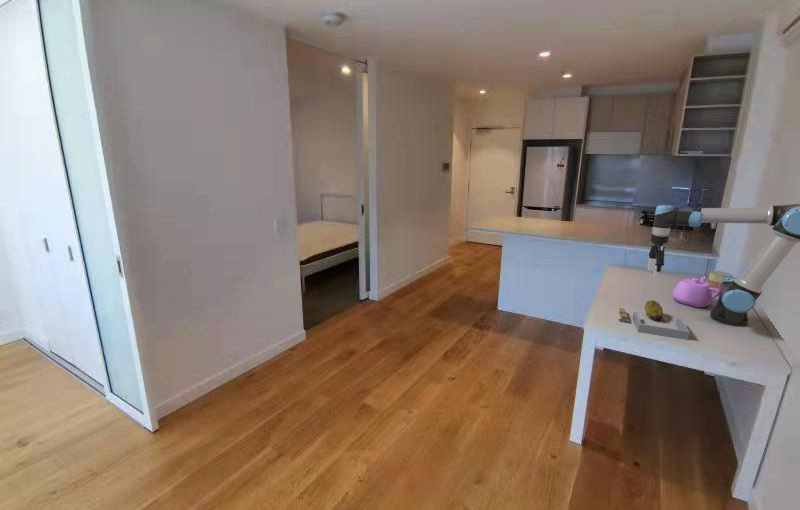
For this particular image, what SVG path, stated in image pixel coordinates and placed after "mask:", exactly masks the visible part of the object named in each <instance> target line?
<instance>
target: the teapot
mask: <svg viewBox="0 0 800 510" xmlns="http://www.w3.org/2000/svg"><path fill="white" fill-rule="evenodd" d="M706 279H707V277H706V276H705V275H704V276H703V275H702V277H700V279H699V278H696V277H693V278H684V279H682V280H680V281H679V282H678V283H677V285H676V286H675V288H674V290H673V291H672V298H673V300H674V301H675V302H678V303H679V304H684V305H687V306H692V307H694V308H704V307H707V306H709V305H710V304H711V303H712V301H713V300H714V299H715V298H717V297H719V294H720V289H717V288H711V286H710V284H708V283H707V282H706ZM712 290H714V291H715V293H712Z"/></svg>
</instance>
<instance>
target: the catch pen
mask: <svg viewBox="0 0 800 510" xmlns="http://www.w3.org/2000/svg"><path fill="white" fill-rule="evenodd" d="M632 321H633V323H634V325H635V328H636V331H637V333H645V334H649V335H657V336H662V337H666V338H674V339H681V340H686V341H689V336H690V334H691V331H690V330H689V329H688V327H687V326H686V325H685V323H684V322H683V319H682V318H680V317H677V319H676V323H675V326H676V327H677V328H671V327H665V326H661V325H660V326H659V325H653V324H652V325H651V324H646V323H642V321H641V319H640V317H639V315H638V313H637V311H633V314H632Z"/></svg>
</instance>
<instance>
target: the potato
mask: <svg viewBox="0 0 800 510" xmlns="http://www.w3.org/2000/svg"><path fill="white" fill-rule="evenodd" d="M644 310H645V314H646V316H647V317H648V318H649V319H651V320H653V321H658V322H659V321H661V320H662V319H663V318H664V310H663V307H662V306H661V305H660V303H659V302H658V301H656V300H648V301H646V303H645V304H644Z"/></svg>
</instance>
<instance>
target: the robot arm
mask: <svg viewBox="0 0 800 510" xmlns="http://www.w3.org/2000/svg"><path fill="white" fill-rule="evenodd" d="M655 208H656V209H655V211H654V217H653V225H652V228H651V229H650V230H651V231H652V232H651V237H650V242H651V248H650V250H649V252H648V258H649V259H648V266H647V271H653V272H654V273H653V278H658V279H659V278H661V275H662V269H663V266H664V265H665V249H666V247H665V246H664V244H668V243H669V239H670V238H669V235H670V234H671V233H670V231H671V226H684V227H690V228H691V227H696V228H697V227H700V226H701V225H702V224H701V223H706V224H708V223H710V224H713V223H715V224H716V223H717V224H767V225H768V226H769V227H771V226H773V227H772V228H771V231H772V235H771V236H770V238H769V239H768V240H767V242H766V243H765V244H764V245H763V246H762V248H761V249H760V251H759V252H758V253H757V255H756V256H755V257H754V259H752V261H751V262H750V264H749V265H748V266H747V268H746V269H745V270H744V271H743V273H742V274H741V275H740V277H734V276H733V277H725V278H724V279H723V281H722V286H721V290H720V294H719V296H718V299H717V303H716V304H715V306H714V307H713V308H712V310H710V314H709V317H710V318H711V319H712V320H714V321H715V322H718V323H721V324H725V325H729V326H735V327H745V326H748V322H749V316H748V312H749V311H751V310H753V309H754V307H755V306H756V301H757V299H758V298H759V297H760V296H761V295H762V294H763V289H762V287H763V285H765V284H766V282H767V280H768V279H769V278H770V277H771V276H772V275H773V273H774V272H775V271H776V270H777V269H778V267H779V266H780V265H781V263H782V262H783V261H784V260H785V258H786V257H787V256H788V255H789V254H790V253H791V251H792V250H793V249H794V247H796V245H797V244H799V243H800V203H796V204H795V203H793V204H781V205H769V207H704V208H703V207H684V208H683V209H681V210H677V209H675V208H674V206H673V205H667V204H666V205H665V204H662V205H661V204H660V205H658V206H656V207H655Z"/></svg>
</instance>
